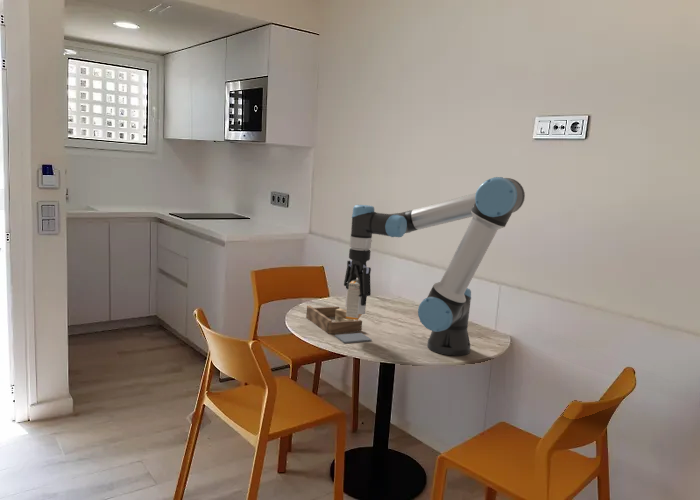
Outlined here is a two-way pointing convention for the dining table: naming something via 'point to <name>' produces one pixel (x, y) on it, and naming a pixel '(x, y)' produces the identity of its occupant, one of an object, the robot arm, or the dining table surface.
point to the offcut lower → (342, 319)
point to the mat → (353, 338)
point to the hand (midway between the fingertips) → (355, 310)
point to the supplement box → (353, 300)
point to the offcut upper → (341, 313)
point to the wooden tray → (326, 324)
